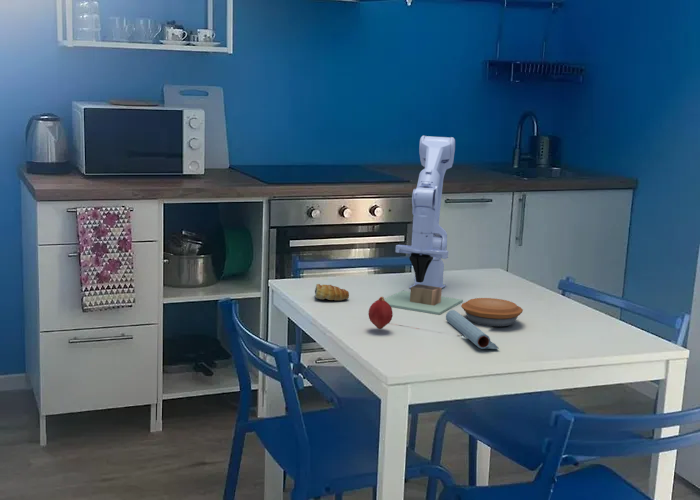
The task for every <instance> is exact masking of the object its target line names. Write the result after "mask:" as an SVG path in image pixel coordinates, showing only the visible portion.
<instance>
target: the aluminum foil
mask: <svg viewBox="0 0 700 500" xmlns="http://www.w3.org/2000/svg"><path fill="white" fill-rule="evenodd" d="M445 320H446V321H447V322H448V323H449V324H450V325H451V326H452V327H454V328H455V329H456V330H457V331H458V332H460V334H462V335H463V336H464V337H466V339H468V340H469V341H471V343H473V344H474V345H475V346H477V347H478V348H479V349H482V350H484V349H488V350H491V349H492V350H494V349H495V350H497V349H499V346H498V345H497V344H496V343H495V342H493V341H491V338H490V336H489V335H488V334H486V333H485V332H484V331H483V330H481V329H480V328H478V327H477V325H475V324H473V322H472V321H470V320H469V319H467V318H466V317H464V316H463V315H462V314H460V313H459V312H458V311H457V310H454V309H449V310H448V311H447V312H446V314H445Z"/></svg>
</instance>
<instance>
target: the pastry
mask: <svg viewBox="0 0 700 500" xmlns="http://www.w3.org/2000/svg"><path fill="white" fill-rule="evenodd" d="M314 297H315V298H316V299H318V300H325V299H326V300H329V301H333V300H334V302H335V301H343V300H348V299H349V297H350V292H349V291H348V290H346V289H345V288H340V287H339V286H334V285H332V284H321V283H317V284H316V285H315V289H314Z"/></svg>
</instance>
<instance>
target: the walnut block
mask: <svg viewBox="0 0 700 500" xmlns="http://www.w3.org/2000/svg"><path fill="white" fill-rule="evenodd" d="M442 289H443V288H441V287H434V286H427V285H420V284H417V285H415V286H413V287H411V288H410V291H409V292H410V302H415V303H421V304H427V305H436V304H438V303H440V302H441V296H442V292H443V291H442Z"/></svg>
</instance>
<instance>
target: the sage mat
mask: <svg viewBox="0 0 700 500" xmlns="http://www.w3.org/2000/svg"><path fill="white" fill-rule="evenodd" d="M410 292H411V291H408V290H401V291H399V292H397V293H394V294H392V295H390V296H387V297H385V298H384V300H385V301H386V302H387V303H388V304H389V305H390V306H391V308H396V309H402V310H408V311H415V312H419V313H426V314H432V315H442V314H444V313H445V312H448V311H450V310H452V309H453V308H454V307H456V306H458V305H461V304H463V303H464V299H461V298H454V297H447V296H442V295H441V302H440V303H438V304H436V305H427V304H421V303H415V302H410Z"/></svg>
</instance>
